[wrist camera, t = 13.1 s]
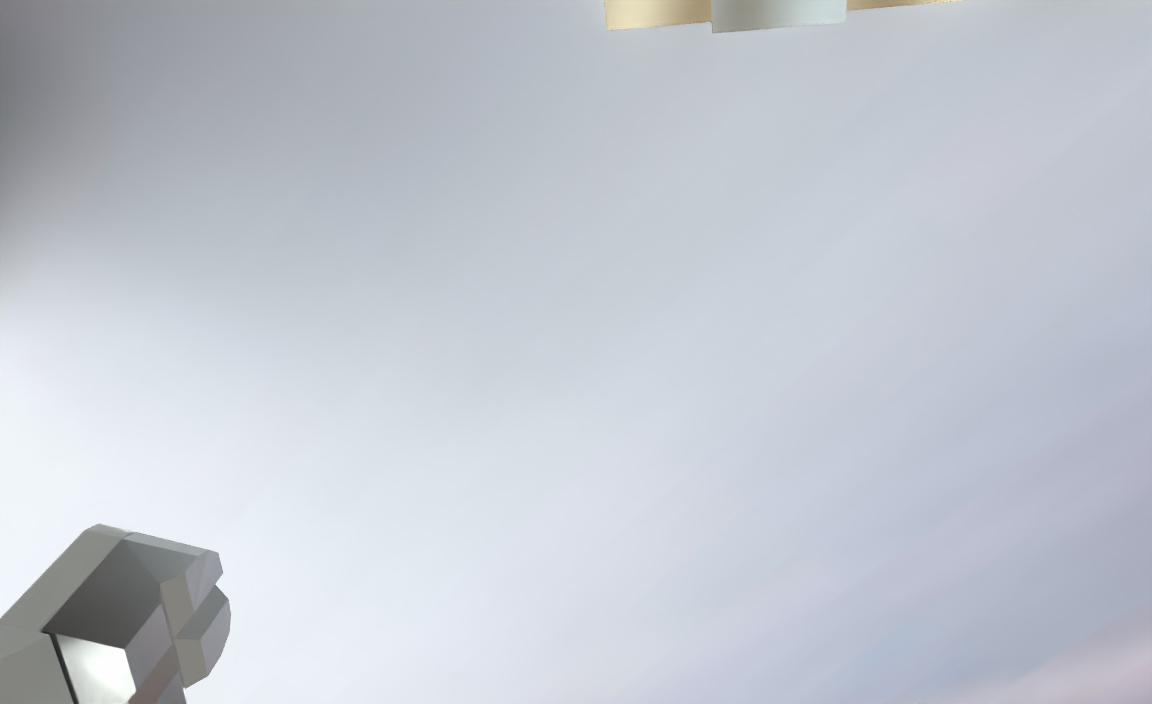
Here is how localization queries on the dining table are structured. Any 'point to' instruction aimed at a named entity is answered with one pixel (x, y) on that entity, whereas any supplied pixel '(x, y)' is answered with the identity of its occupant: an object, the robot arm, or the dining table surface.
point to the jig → (738, 12)
